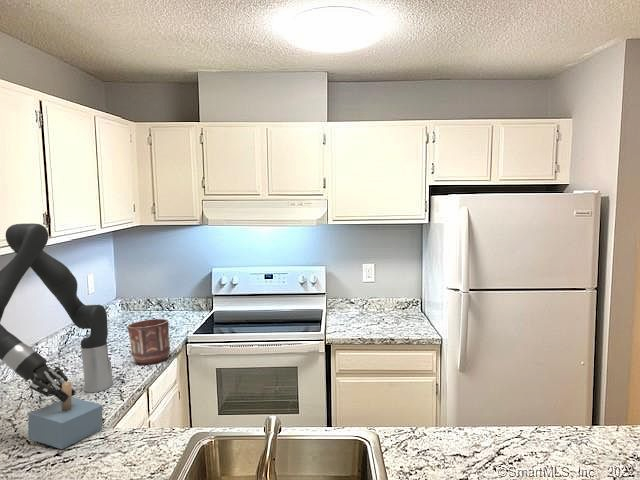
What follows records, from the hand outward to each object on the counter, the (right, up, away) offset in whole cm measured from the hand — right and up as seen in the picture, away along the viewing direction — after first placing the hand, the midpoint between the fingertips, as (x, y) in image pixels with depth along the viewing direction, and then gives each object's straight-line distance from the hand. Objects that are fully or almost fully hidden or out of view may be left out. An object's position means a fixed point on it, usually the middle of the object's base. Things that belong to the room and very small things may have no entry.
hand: (69, 396), depth 141 cm
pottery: (-3, -9, +77) cm, 77 cm away
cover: (-1, -11, 0) cm, 11 cm away
